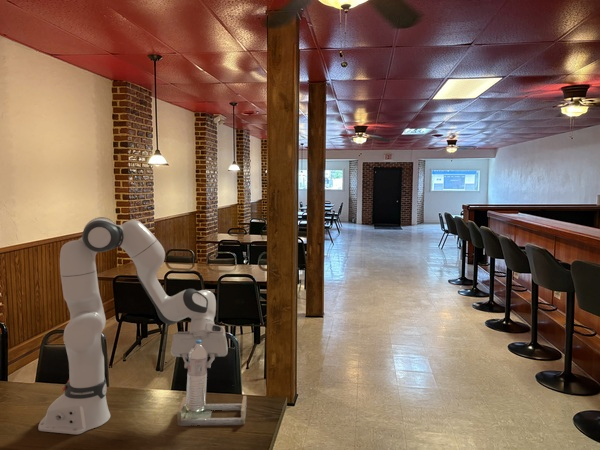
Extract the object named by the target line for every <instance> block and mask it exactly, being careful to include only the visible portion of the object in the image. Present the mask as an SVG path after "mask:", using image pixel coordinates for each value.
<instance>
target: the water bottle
mask: <svg viewBox="0 0 600 450" xmlns="http://www.w3.org/2000/svg"><path fill="white" fill-rule="evenodd" d="M208 357H209V356H208V351H207V349H206V348H205V347H204V346H203V345H201V340H196V345H194V346H193V347H192V348H191V349H190V350H189V352H188V357H187V360H188V361H187V362H188V368H187V373H186V374H187V375H186V377H187V379H186V408H187V410H188V411H190V412H199V411H202V410H203V409H204V408H205V404H206V403H207V402H206V399H207V382H208V381H207V380H208V378H207V377H208V370H207V369H208V368H206V364H207V362H208Z"/></svg>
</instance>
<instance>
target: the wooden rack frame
mask: <svg viewBox="0 0 600 450" xmlns="http://www.w3.org/2000/svg"><path fill="white" fill-rule="evenodd" d="M241 401H242V402H241V403H205V408H204V409H203V410H202V411H199V412H190V411H188V410H187V408H186V396H183V398H182V400H181V402H180V405H179V407H178V409H177V412H176V413H177V414H176V415H177V426H178V427H185V426H186V427H189V426H190V427H191V425H192V426H193V425H194V426H197V425H200V426H244V425H245V424H246V423H245V422H246V414H247V395H243V396H242V400H241ZM211 410H212V411H211ZM213 410H214V411H215V410H222V411H240V417H212V412H213ZM194 426H193V427H194ZM197 427H198V426H197Z"/></svg>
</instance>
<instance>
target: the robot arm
mask: <svg viewBox="0 0 600 450" xmlns="http://www.w3.org/2000/svg"><path fill="white" fill-rule="evenodd" d="M116 248H121V249H123V250H124V252H125V253H126V254H127V255H128V256H129V258H130V259H131V260H132V262H133V264H134V266H135V268H136V276H137V279H138V282H139V283H140V284H141V287H142V289H143V290H144V291H145V293H146V295H147V297H148V298H149V299H150V301H151V303H152V304H153V307H154V308H155V310H156V313H157V316H158V318H159V320H160V321H162V322H163V323H164V324H167V325H169V326H172V325H175V324H177V323H179V322H180V321H182V320H184V319H186V318H189V319H191V320H190V327H189V331H177V332H175V333H174V334H173V335H172V338H171V339H172V340H171V341H172V343H171V347H170V354H171V355H172V357H174V358H182V359H183V362H184V369H188V361H187V360H188V358H189V357H188V352H189V350H190V349H191V348H192V347H193V346H194V345H196V340H201V345H203V346H204V347H205V348H206V349H207V351H208V356H207V357H210V358H209V360H207V364H206V368H207V369H211V366H212V363H213V361H215V358H216V357H226V356H227V355H228V353H229V352H228V350H229V349H228V341H227V337H226V330H225V328H224V326H222V325H218V324H215V317H216V311H217V300H216V296H215V294H214V293H213V292H212V291H209V290H207V289H201V290H196V289H195V288H187V289H184V290H182V291H179V292H178V293H176V294H174V295H171V296H169V295H168V294H167V293H166V292H165V289H164V288H163V286H162V284H161V283H160V282H159V281H160V280H159V279H158V278H157V277H158V276H157V275H158V272H159V270H160V268H161V267H162V266H163V264H164V261H165V260H166V259H165V258H166V252H165V248H164V247H163V245H162V243H160V241H159V240H158V239H157V237H156V236H155V235H154V234H153V233H152V232H151V230H149V229H148V227H146V226H145V224H143V223H142V222H141V221H140V220H137V219H130V220H128V221H127V220H126V221H125V222H123V223H122V224H115V221H114V222H113V220H111V219H110V218H108V217H100V216H99V217H95V218H93V219H91V220H89V221H88V222H87V223H86V224H85V225H84V228H83V230H82V234H81V237H80V238H79V239H75V240H70V241H67V242H65V243H64V244H63V245H62V246H61V248H60V254H59V272H60V273H59V274H60V281H61V286H62V287H61V288H62V295H63V299H64V301H65V303H66V305H67V308H68V311H69V321H68V322H67V324H66V326H65V328H64V331H63V343H64V345H65V350H66V354H67V360H68V370H69V371H68V374H69V378H68V380H67V382H66V383H65V384H64V387H62V389H61V391H62V392H61V393H62V394H61V395H60V396H59V397H57V398H56V399H55V400H54V401H53V402H52V403H51V404H50V405H49V406H48V409H47V410H46V415H45V416H44V417H43V418H42V419H41V420H40V422H39V424H38V428H37V429H38V431H39V432H49V433H58V434H59V433H60V434H69V435H80V434H83V433H85V432H87V431H90V430H93V429H94V428H95V429H96V428H98V427H101V426H103V425H104V424H106V423H107V422H108V421H109V420H110V419H111V412H110V411H109V406H108V402H107V396H106V395H107V379H106V377H105V356H104V352H103V347H102V334H103V330H104V329H105V327H106V324H107V323H106V322H107V319H106V314H105V309H104V305H103V301H102V298H101V294H100V289H99V279H98V272H97V265H96V263H97V262H96V257H97V256H96V255H97V254H98V253H104V252H109V251H111V250H114V249H116ZM63 392H64V393H63Z"/></svg>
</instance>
